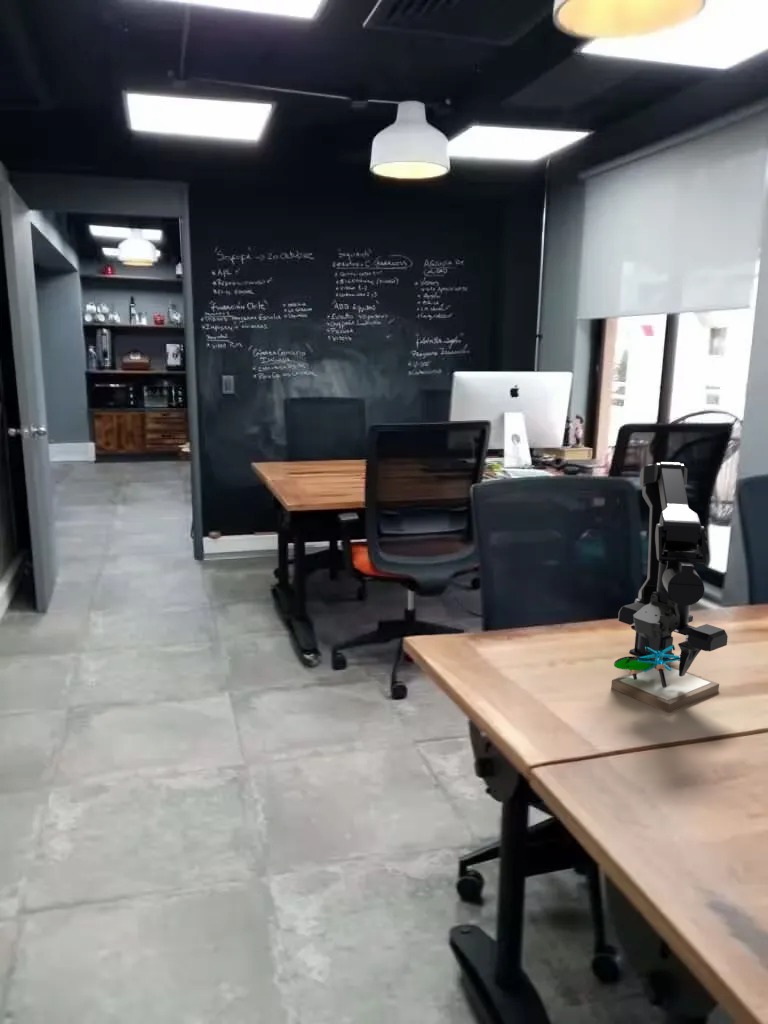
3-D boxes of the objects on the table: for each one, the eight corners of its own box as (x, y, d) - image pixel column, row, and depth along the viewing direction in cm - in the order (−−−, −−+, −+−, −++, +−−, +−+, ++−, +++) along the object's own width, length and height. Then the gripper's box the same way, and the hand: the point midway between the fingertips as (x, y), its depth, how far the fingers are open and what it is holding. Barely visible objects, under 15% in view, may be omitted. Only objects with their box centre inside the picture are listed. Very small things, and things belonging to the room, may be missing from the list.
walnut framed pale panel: (611, 688, 139) (611, 679, 138) (660, 669, 147) (661, 661, 147) (668, 713, 129) (669, 703, 129) (718, 692, 138) (719, 683, 137)
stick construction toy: (683, 655, 139) (676, 637, 133) (692, 691, 134) (684, 673, 129) (617, 667, 143) (607, 650, 138) (624, 702, 139) (614, 686, 133)
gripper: (602, 582, 137) (596, 662, 140) (695, 610, 122) (686, 700, 126) (640, 572, 144) (633, 650, 147) (733, 598, 129) (724, 684, 132)
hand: (666, 670), depth 138 cm, fingers closed on stick construction toy, 6 cm apart
